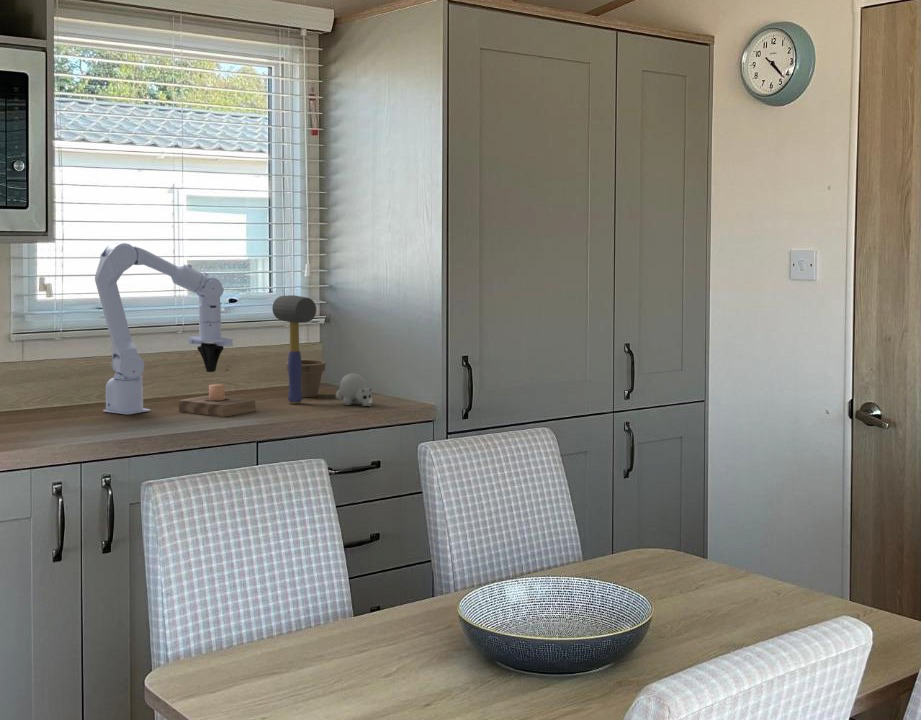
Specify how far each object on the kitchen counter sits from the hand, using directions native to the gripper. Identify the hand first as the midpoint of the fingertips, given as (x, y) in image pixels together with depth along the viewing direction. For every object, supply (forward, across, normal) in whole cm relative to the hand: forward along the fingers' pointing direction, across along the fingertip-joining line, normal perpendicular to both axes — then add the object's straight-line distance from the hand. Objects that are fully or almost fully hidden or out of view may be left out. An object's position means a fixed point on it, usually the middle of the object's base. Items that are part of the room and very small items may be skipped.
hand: (210, 371), depth 307 cm
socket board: (+9, -8, +6) cm, 14 cm away
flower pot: (+10, -9, -29) cm, 32 cm away
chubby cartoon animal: (+10, -32, -23) cm, 41 cm away
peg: (+9, -8, +6) cm, 14 cm away
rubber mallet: (+10, -16, -16) cm, 25 cm away
